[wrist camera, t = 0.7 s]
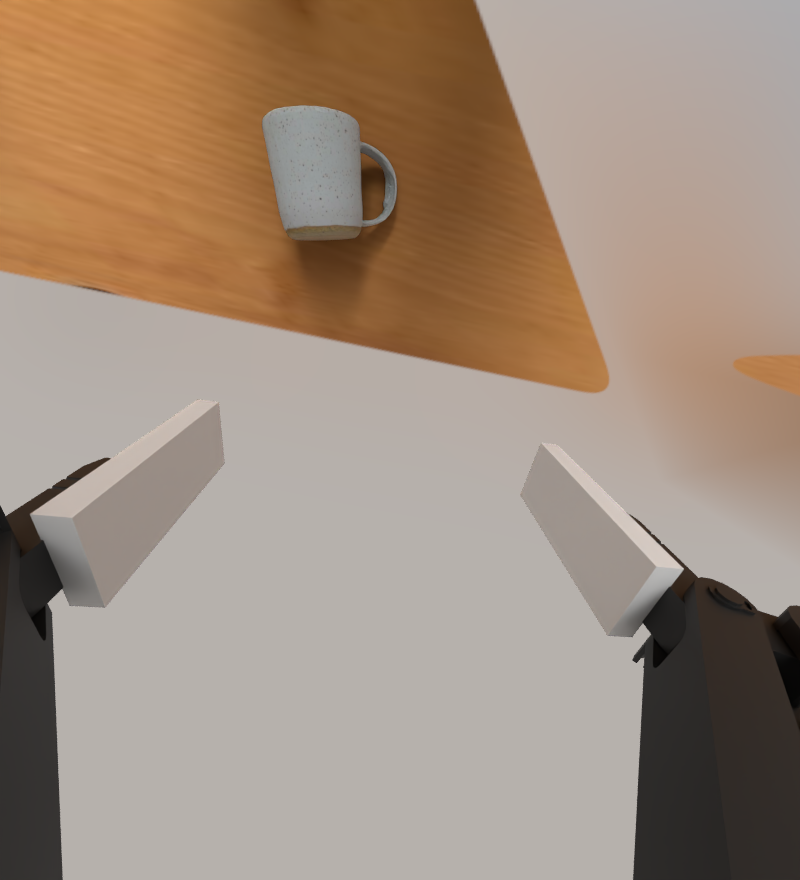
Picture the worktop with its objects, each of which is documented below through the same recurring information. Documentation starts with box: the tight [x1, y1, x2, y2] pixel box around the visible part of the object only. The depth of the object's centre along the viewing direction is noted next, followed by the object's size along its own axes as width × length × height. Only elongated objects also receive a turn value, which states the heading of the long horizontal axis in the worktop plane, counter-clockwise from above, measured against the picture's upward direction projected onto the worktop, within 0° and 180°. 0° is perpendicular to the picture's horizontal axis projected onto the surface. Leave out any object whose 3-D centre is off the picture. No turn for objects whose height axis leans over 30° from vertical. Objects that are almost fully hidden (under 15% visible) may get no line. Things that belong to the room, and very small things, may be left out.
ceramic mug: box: [262, 105, 397, 240], centre depth 28 cm, size 11×8×8 cm
